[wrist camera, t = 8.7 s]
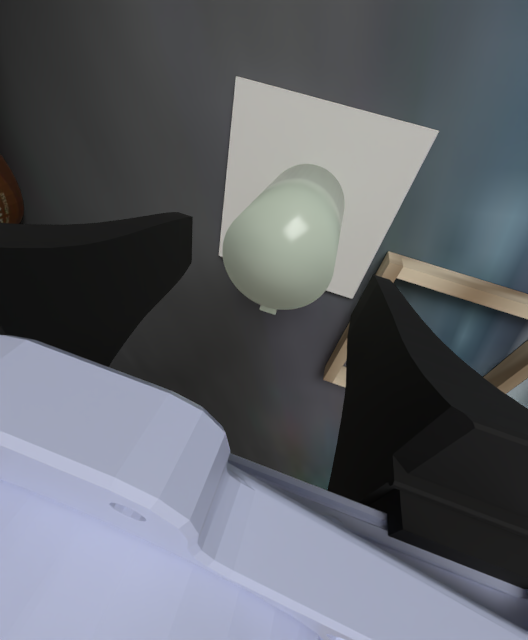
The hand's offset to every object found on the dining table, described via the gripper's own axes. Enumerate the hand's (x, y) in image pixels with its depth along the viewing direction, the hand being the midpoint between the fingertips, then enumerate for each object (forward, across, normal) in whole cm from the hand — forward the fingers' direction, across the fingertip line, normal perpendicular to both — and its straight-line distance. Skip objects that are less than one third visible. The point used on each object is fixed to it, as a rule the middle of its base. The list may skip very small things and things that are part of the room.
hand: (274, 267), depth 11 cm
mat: (+8, 0, 0) cm, 8 cm away
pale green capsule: (+8, 0, 0) cm, 8 cm away
